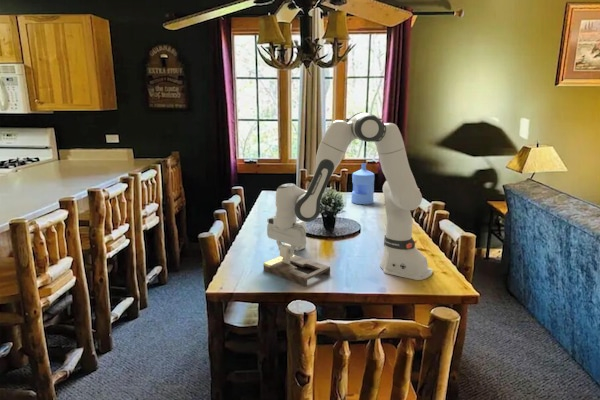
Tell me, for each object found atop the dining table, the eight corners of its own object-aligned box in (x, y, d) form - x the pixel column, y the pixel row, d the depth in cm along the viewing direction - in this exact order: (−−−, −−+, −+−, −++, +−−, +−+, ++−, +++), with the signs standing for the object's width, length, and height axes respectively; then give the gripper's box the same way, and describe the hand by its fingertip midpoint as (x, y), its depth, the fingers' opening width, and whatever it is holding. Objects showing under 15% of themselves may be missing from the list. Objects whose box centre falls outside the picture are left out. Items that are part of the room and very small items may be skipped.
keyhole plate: (330, 274, 177) (330, 266, 177) (305, 286, 166) (305, 278, 165) (288, 259, 193) (288, 252, 192) (263, 270, 181) (263, 262, 181)
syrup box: (297, 245, 212) (297, 218, 208) (306, 248, 208) (306, 220, 205) (289, 248, 207) (289, 220, 204) (298, 251, 204) (298, 222, 200)
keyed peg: (294, 268, 183) (294, 245, 181) (286, 271, 180) (286, 248, 177) (286, 265, 187) (286, 242, 184) (278, 268, 183) (278, 245, 180)
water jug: (361, 198, 310) (362, 161, 304) (377, 202, 299) (379, 163, 292) (346, 201, 301) (348, 163, 294) (363, 206, 289) (364, 166, 282)
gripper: (309, 224, 174) (309, 255, 177) (274, 215, 187) (275, 244, 190) (299, 228, 169) (299, 260, 172) (264, 218, 182) (264, 248, 186)
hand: (286, 251), depth 181 cm, fingers open, 5 cm apart
